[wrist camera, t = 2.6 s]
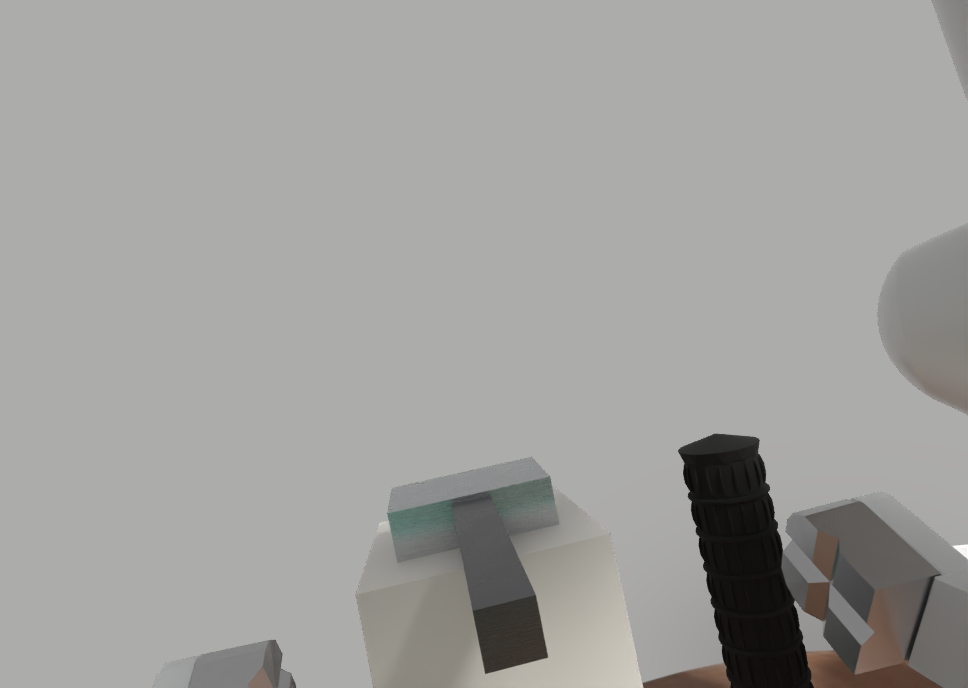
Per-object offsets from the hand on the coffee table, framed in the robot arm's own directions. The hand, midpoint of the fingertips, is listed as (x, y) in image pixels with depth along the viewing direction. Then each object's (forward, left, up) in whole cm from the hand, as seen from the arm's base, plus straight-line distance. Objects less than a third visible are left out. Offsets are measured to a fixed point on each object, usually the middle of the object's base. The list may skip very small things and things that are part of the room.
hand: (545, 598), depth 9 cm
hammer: (0, -23, -7) cm, 24 cm away
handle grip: (-23, -42, -33) cm, 58 cm away
